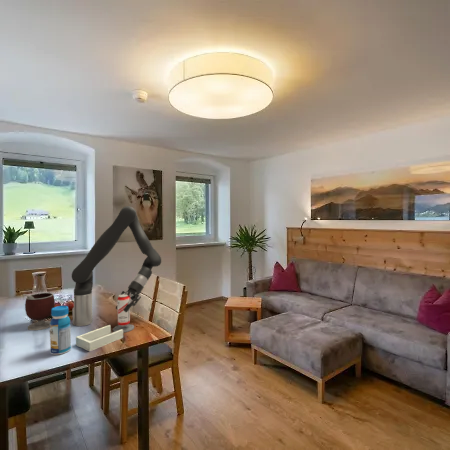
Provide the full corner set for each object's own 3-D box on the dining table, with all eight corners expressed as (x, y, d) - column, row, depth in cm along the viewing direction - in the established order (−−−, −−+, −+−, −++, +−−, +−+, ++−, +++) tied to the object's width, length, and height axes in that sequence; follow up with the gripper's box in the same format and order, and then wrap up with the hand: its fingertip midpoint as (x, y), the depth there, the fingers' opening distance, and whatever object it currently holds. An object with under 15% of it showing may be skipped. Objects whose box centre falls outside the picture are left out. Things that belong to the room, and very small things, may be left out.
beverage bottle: (69, 354, 130) (68, 309, 130) (47, 356, 128) (46, 311, 127) (73, 345, 138) (72, 304, 138) (53, 348, 136) (52, 305, 135)
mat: (109, 332, 154) (109, 331, 154) (118, 324, 165) (118, 323, 165) (129, 333, 153) (129, 332, 153) (137, 325, 164) (137, 324, 164)
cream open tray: (89, 351, 133) (89, 342, 133) (76, 345, 139) (75, 337, 139) (123, 337, 148) (123, 329, 147) (109, 332, 154) (109, 324, 154)
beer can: (119, 322, 162) (118, 294, 161) (131, 322, 162) (130, 293, 162) (116, 327, 156) (115, 297, 155) (128, 326, 156) (127, 297, 155)
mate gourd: (46, 319, 172) (46, 286, 171) (60, 324, 165) (59, 289, 164) (17, 328, 159) (16, 292, 158) (30, 334, 152) (29, 296, 151)
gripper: (126, 278, 168) (108, 304, 159) (142, 282, 160) (125, 309, 151) (133, 285, 173) (116, 311, 164) (150, 289, 165) (133, 316, 156)
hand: (121, 310), depth 157 cm, fingers closed on beer can, 6 cm apart
